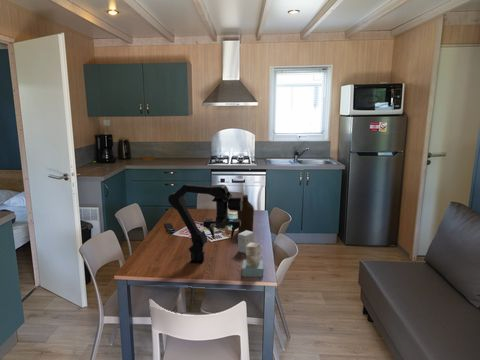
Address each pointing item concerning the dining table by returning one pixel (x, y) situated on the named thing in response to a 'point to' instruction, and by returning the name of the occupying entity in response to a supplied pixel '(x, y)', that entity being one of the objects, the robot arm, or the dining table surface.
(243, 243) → the small box
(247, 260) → the cream block
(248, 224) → the olive oil
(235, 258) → the dining table surface
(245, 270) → the base block
